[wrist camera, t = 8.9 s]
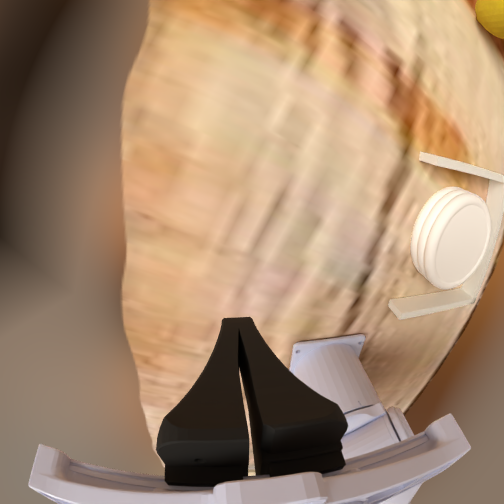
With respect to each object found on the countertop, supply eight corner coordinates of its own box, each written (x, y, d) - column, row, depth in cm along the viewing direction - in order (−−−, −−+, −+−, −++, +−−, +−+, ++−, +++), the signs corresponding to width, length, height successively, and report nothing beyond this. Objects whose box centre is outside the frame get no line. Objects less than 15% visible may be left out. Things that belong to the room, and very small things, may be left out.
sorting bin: (462, 292, 27) (474, 303, 25) (387, 305, 26) (399, 320, 24) (494, 171, 21) (509, 177, 19) (420, 151, 19) (438, 156, 17)
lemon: (491, 50, 14) (543, 50, 7) (462, 22, 13) (517, 14, 6) (490, 17, 12) (536, 13, 5) (460, -10, 11) (509, -21, 4)
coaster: (481, 217, 23) (502, 229, 20) (437, 287, 27) (455, 304, 23) (443, 164, 20) (469, 173, 17) (390, 250, 24) (411, 268, 20)
